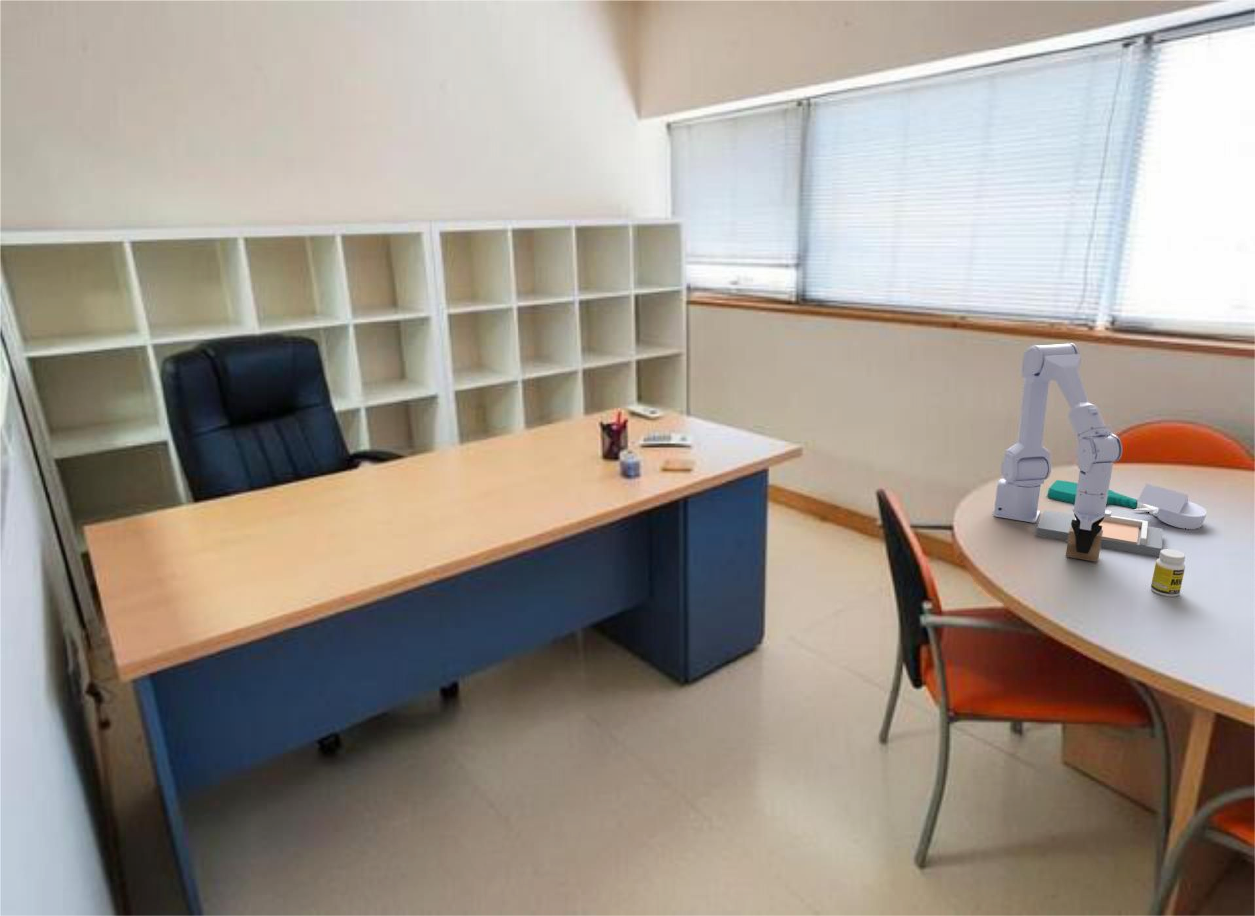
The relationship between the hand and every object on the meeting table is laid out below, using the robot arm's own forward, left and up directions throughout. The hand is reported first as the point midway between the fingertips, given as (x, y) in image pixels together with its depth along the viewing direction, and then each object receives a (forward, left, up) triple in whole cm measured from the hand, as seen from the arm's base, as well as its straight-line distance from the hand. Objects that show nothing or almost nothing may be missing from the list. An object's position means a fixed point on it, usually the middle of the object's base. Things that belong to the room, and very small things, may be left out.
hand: (1083, 548), depth 163 cm
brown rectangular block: (0, 0, -2) cm, 2 cm away
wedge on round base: (+15, +32, -2) cm, 35 cm away
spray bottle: (+2, +38, -3) cm, 38 cm away
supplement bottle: (+15, -9, -2) cm, 18 cm away
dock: (+2, +14, -2) cm, 14 cm away
